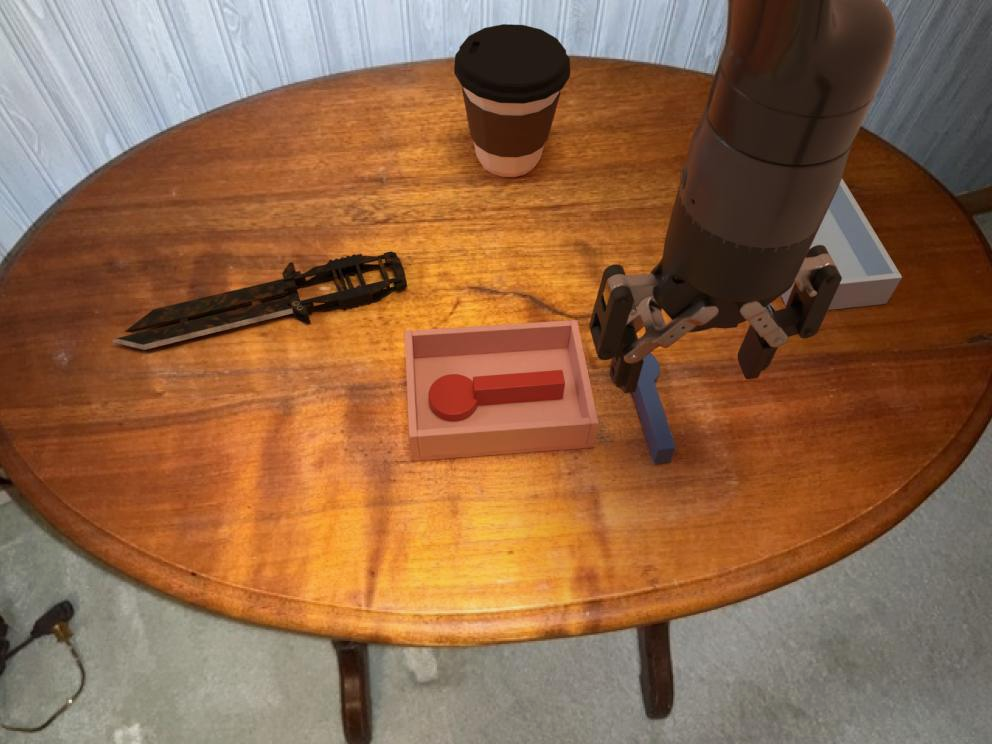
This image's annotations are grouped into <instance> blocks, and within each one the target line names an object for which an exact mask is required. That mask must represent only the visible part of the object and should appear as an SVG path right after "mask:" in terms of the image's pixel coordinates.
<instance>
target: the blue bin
mask: <svg viewBox="0 0 992 744" xmlns="http://www.w3.org/2000/svg"><path fill="white" fill-rule="evenodd" d="M817 245H824V246H825V247H826V249H827V251H828V253H829V255H830V256H831V257H832V259H833V261H834V263H835V265H836V267H837V269H838V271H839V273H840V275H841V277H842V280H841V282H840V284H839V287H838V289H837V291H836V293H835V295H834V298H833V300H832V302H831V304H830V306H829V309H828V311H832V310H841V309H850V308H859V307H869V306H877V305H878V306H879V305H887V303H888V302H889V300H890V298H891V297H892V295H893V294H894V292H895V290H896V288H897V287H898V285H899V284H900V282H901V280H902V278H903V276H902V274H901V273H900V271H899V269H898V268H897V266H896V264H895V263H894V261H893V259H892V258H891V256H890V254H889V253H888V251H887V250H886V248H885V246H884V245H883V243H882V242H881V240H880V239H879V237H878V235H877V233H876V232H875V230H874V228H873V227H872V224H871V223H870V222H869V220H868V218H867V217H866V215H865V213H864V212H863V210H862V209H861V206H860V205H859V204H858V202H857V200H856V198H855V197H854V195H853V193H852V192H851V190H850V189H849V187H848V185H847V184H846V182H845V180H844V179H843V178H842V179H841V182H840V184H839V187H838V189H837V191H836V193H835V196H834V198H833V200H832V202H831V204H830V206H829V208H828V211H827V213H826V215H825V217H824V219H823V221H822V223H821V225H820V228H819V230H818V232H817V234H816V236H815V238H814V240H813V242H812V245H811V247H810V248H812V247H814V246H817ZM794 283H795V282H794ZM794 283H793V285H792V287H791V288H790V289H789V290H788V291H786V292H785V293H784V294H782V295H781V296H780V297H781V299H782V302H783V303H784V305H785V306H786V304H787V301H788V299H789V296H790V294H791V291H792V289H793V286H794Z"/></svg>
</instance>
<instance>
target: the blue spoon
mask: <svg viewBox="0 0 992 744" xmlns="http://www.w3.org/2000/svg"><path fill="white" fill-rule="evenodd" d="M643 361H644V363H643V366H642V370H641V373H640V377H639V380H638V384H637V387H636V391H635V392H631V395H632V399H633V402H634V405H635V409H636V411H637V415H638V418H639V422H640V425H641V428H642V431H643V434H644V439H645V441H646V445H647V447H648V450H649V454H650V457H651V459H652V464H653V465H660V464H667V463H668V464H669V463H671V462H672V460H673V458H674V454H675V452H676V450H677V446H676V443H675V440H674V437H673V434H672V430H671V428H670V425H669V421H668V419H667V415H666V412H665V410H664V406H663V404H662V400H661V398H660V395H659V391H658V389H657V386H656V385H657V384H656V383H657V382H658V378H659V375H660V371H661V370H660V369H661V367H660V363H659V361H658V359H657V358H656V356H655V355H654V354H653V353H652V352H651V353H649V354H648V355H647V356H645V357H644V358H643ZM609 375H610V377H611V379H612V381H613V383H614V384H615V381H614V378H613V374H612V371H611V367H610V366H609ZM619 388H620V389H622V387H619Z"/></svg>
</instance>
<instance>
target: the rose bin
mask: <svg viewBox="0 0 992 744" xmlns="http://www.w3.org/2000/svg"><path fill="white" fill-rule="evenodd" d="M404 350H405V351H404V352H405V354H404V355H405V372H406V373H405V374H406V375H405V376H406V377H405V378H406V397H407V418H408V419H407V420H408V421H407V422H408V440H409V449H410V454H411V455H410V456H411V462H417V461H432V460H443V459H457V458H459V459H460V458H470V457H484V456H494V455H495V456H497V455H511V454H522V453H523V454H524V453H537V452H538V453H539V452H549V451H563V450H575V449H576V450H577V449H589V448H594V446H595V441H596V437H597V434H598V433H597V432H598V428H599V422H600V421H599V418H598V413H597V408H596V404H595V399H594V393H593V388H592V384H591V379H590V374H589V369H588V365H587V360H586V356H585V351H584V345H583V342H582V336H581V331H580V325H579V322H578V319H571V320H570V319H569V320H554V321H553V320H552V321H539V322H538V321H537V322H521V323H520V322H519V323H506V324H493V325H492V324H490V325H474V326H473V325H471V326H458V327H442V328H441V327H440V328H428V329H425V328H424V329H412V330H410V329H409V330H404ZM553 370H563V375H564V380H565V388H564V394H563V399H555V400H543V401H531V402H518V403H506V404H494V405H481V406H478V407H477V409H476V410H475V412H474V413H473V414H472V415H471V416H469V417H468V418H466V419H464V420H460V421H447V420H443V419H441V418H439V417H438V416H436V415H435V414H434V413H433V411H432V410H431V408H430V405H429V390H430V387H431V385H432V384H433V383H434V382H435V381H436V380H437V379H438V378H440V377H442V376H445V375H449V374H459V375H463V376H466V377H468V378H469V379H471V380H472V381H473V377H476V376H489V375H501V374H514V373H527V372H540V371H553Z"/></svg>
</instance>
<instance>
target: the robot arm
mask: <svg viewBox="0 0 992 744" xmlns="http://www.w3.org/2000/svg"><path fill="white" fill-rule="evenodd" d="M726 1H727V2H726V27H725V35H724V39H723V42H722V46H721V49H720V53H719V55H718V59H717V63H716V67H715V70H714V74H713V78H712V82H711V85H710V88H709V92H708V96H707V99H706V103H705V106H704V110H703V112H702V114H701V117H700V120H699V121H698V123H697V125H696V128H695V130H694V132H693V135H692V138H691V141H690V144H689V147H688V151H687V155H686V158H685V161H684V163H683V166H682V168H681V170H680V175H679V184H678V189H677V192H676V195H675V199H674V203H673V207H672V211H671V215H670V218H669V222H668V226H667V230H666V233H665V238H664V244H663V252H662V257H661V259H660V261H659V262H658V263H657V264H656V265H655V266H654V267H653V268H652V270H651V271H650V273H643V274H626V271H625V268H624V266H623V265H621V264H619V263H618V264H611V265H609V266H607V267H606V268H604V270H603V272H602V277H601V280H600V283H599V287H598V291H597V295H596V297H595V302H594V305H593V309H592V313H591V316H590V320H589V324H588V327H589V331H590V336H591V339H592V342H593V346H594V349H595V352H596V355H597V358H598V359H599V360H601V361H609V360H611V361H610V365H609V368H610V367H611V371H612V374H613V378H614V381H615V383H614V384H615V387H616V388H620V387H622V388H621V390H622V392H623V394H632V392H635V391H636V387H637V384H638V380H639V377H640V373H641V370H642V366H643V363H644V361H643V358H644V357H645V356H647V355H648V354H649V353H651V354H652V352H654V351H655V350H656V349H658V348H659V347H661V348H664V349H667V348H669V347H671V346H672V345H674V344H675V343H676V342H677V341H679V340H681V338H683V337H684V336H685V335H687V334H688V333H699V332H703V331H707V330H710V329H733V328H738V326H739V324H742V323H745V322H748V323H749V326H748V329H747V331H746V333H745V335H744V338H743V340H742V343H741V344H740V347H739V350H738V351H737V361H738V364H739V367H740V369H741V372H742V374H743V377H744V378H745V380H755V379H758V378H759V377H760V375H761V373H762V371H765V370H767V368H769V366H770V365H771V363H772V360H773V358H774V357H775V354H776V352H777V350H778V348H779V347H782V346H784V345H786V344H787V343H788V341H789V338H791V337H793V336H796V335H798V336H799V338H801V339H810V338H812V337H814V336H815V335H817V334H818V332H819V330H820V328H821V326H822V323H823V322H824V319H825V317H826V315H827V313H828V311H829V310H828V309H829V306H830V304H831V302H832V300H833V298H834V295H835V293H836V291H837V289H838V287H839V284H840V282H841V280H842V277H841V275H840V273H839V271H838V269H837V267H836V265H835V263H834V261H833V259H832V257H831V256H830V255H829V253H828V251H827V249H826V247H825V246H824V245H817V246H814V247H812V248H810V247H811V245H812V242H813V240H814V238H815V236H816V234H817V232H818V230H819V228H820V225H821V223H822V221H823V219H824V217H825V215H826V213H827V211H828V208H829V206H830V204H831V202H832V200H833V198H834V196H835V193H836V191H837V189H838V187H839V184H840V182H841V179H843V178H844V177H843V176H844V174H845V171H846V166H847V162H848V159H849V156H850V152H851V149H852V147H853V144H854V142H855V139H856V137H857V135H858V133H859V131H860V129H861V127H862V124H863V123H864V120H865V117H866V116H867V114H868V111H869V109H870V107H871V105H872V102H873V101H874V98H875V96H876V93H877V92H878V89H879V87H880V85H881V84H882V81H883V79H884V76H885V74H886V72H887V69H888V66H889V64H890V61H891V58H892V55H893V51H894V47H895V43H896V36H897V35H896V24H895V23H896V22H895V19H894V17H893V14H892V12H891V10H890V8H889V6H888V5H887V4H886V2H884V0H726ZM794 282H795V283H794ZM793 283H794V286H793V289H792V291H791V294H790V296H789V299H788V301H787V304H786V305H785V307H784V308H781V309H778V310H776V308H775V307H774V305H773V304H772V303H773V302H774V301H776V300H778V299H779V298H780V297H781V295H782V294H784V293H785V292H786V291H788V290H789V289H790V288H791V287H792V285H793ZM662 310H663V311H662ZM662 312H664V313H665V314H667V316H668V317H669V318H670V319H671V321H669V322H667V324H666V322H665V319H664V316H663V313H662ZM642 329H645V331H644V334H643V335H642V336H640V337H638V334H637V333H639V332H640V331H641V330H642ZM614 381H613V382H614Z"/></svg>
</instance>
